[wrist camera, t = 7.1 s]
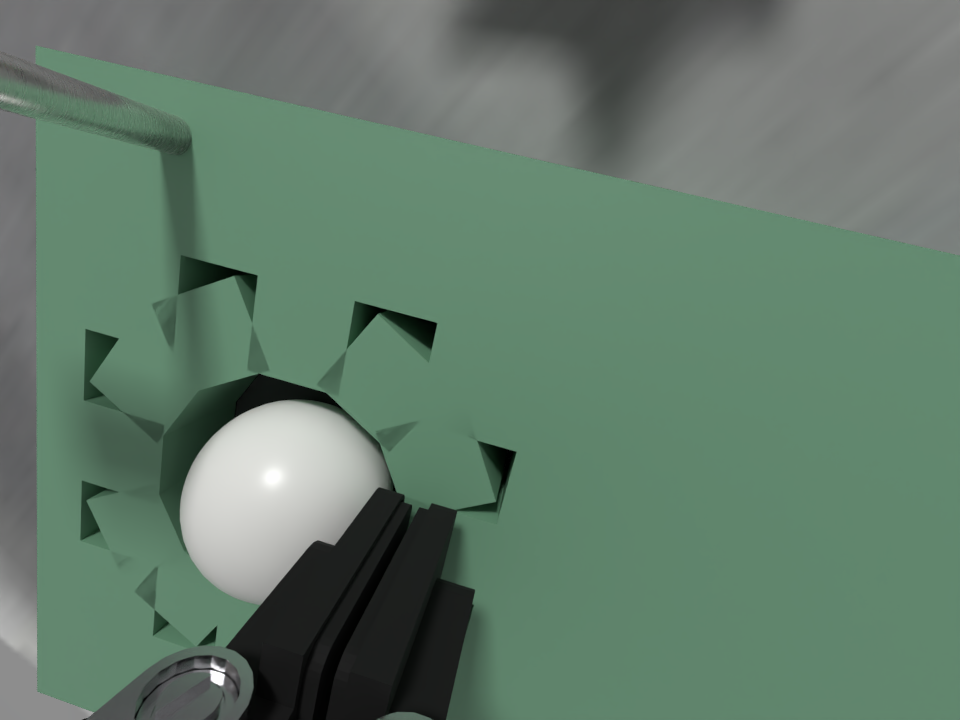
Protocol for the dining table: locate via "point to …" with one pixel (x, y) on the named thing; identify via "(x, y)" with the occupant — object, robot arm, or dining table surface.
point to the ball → (276, 492)
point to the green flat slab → (505, 410)
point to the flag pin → (87, 107)
